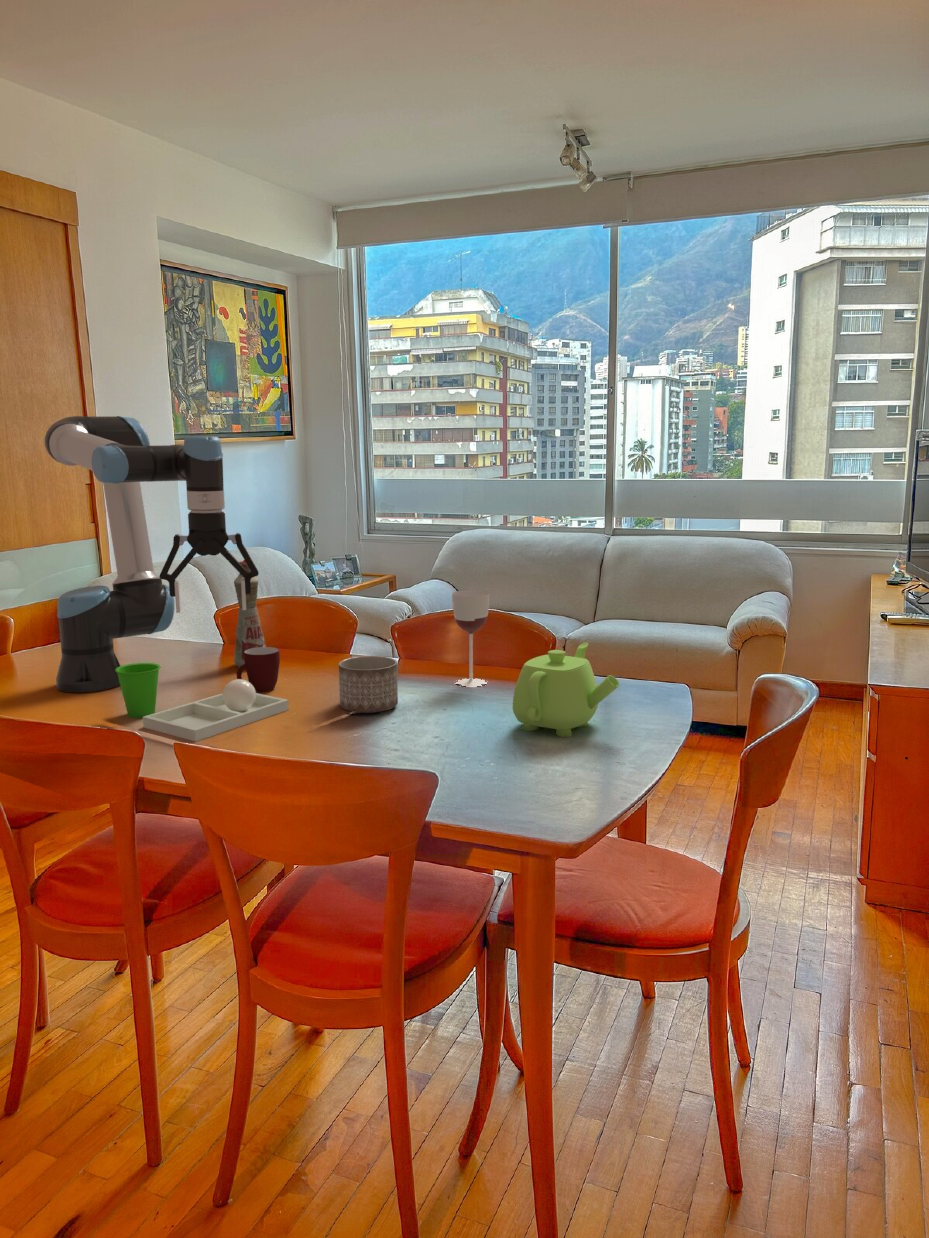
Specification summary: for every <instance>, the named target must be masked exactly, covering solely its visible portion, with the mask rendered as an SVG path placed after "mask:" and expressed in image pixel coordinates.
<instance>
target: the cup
mask: <svg viewBox="0 0 929 1238" xmlns="http://www.w3.org/2000/svg"><path fill="white" fill-rule="evenodd" d="M160 669H161V665H160V664H159V663H155V662H135V663H127V664H124V665H123V664H122V665H120V667H118V668H116V670H115V672H117V674H118V678H119V682H120V685H119V686H120V689H121V693H122V697H123V701H124V705H125V708H126V711H127V712H126V713H127V717H128V718H131V719H143V717H144V716H147V715H150V714H154V713H156V706H157V705H156V704H157V693H158V692H157V691H158V684H159V683H158V682H159V671H160Z"/></svg>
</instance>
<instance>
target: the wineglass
mask: <svg viewBox="0 0 929 1238" xmlns="http://www.w3.org/2000/svg"><path fill="white" fill-rule="evenodd" d="M451 595H452V596H451V598H452V599H451V601H452V611H453V616H454V620H455V623H456V624H457V626H458V627H459V628H460V629H461V630H463V631H465V632H466V633H468V635H469V637H468V641H469V642H468V643H469V644H468V645H469V646H468V651H469V652H468V653H469V658H468V659H469V661H468V662H469V663H468V664H469V666H468V667H469V670H468V671H469V673H468V674H469V679H467V678H461V679H462V680H460V679H457V680H458V682H456V683H454V682H453V684H454V685H455V684H461V685H462V686H466V687H465V688H478V687H477V686H481V687H483V686H482V685H481V684H487V682H488V681H487V682H485V680H486V679H482V678H475V679H473V678H474V673H473V672H474V652H473V651H474V648H473V647H474V643H473V642H474V633H475V632H476V631H478V630H480V629H481V628H482V627H483V626H484V625H485V624H486V623H487V619H488V615H489V609H490V592H489V591H487V590H479V589H475V590H474V589H469V590H468V589H467V590H457V591H454V592H452V594H451ZM481 679H482V680H481ZM487 685H488V684H487Z"/></svg>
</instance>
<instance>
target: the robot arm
mask: <svg viewBox="0 0 929 1238" xmlns="http://www.w3.org/2000/svg"><path fill="white" fill-rule="evenodd" d="M146 430H147V429H145V427H144V426H143V424H142V423H141V421H139V420H138V419H136V418H134V417H127V416H125V417H124V416H121V415H120V416H119V415H117V416H82V415H76V416H75V415H74V416H68V417H64V418H61V419H59V420H57V421H55V422H54V423H52V424H51V425H50V426H49V428H48V429H47V430H46V432H45V436H44V447H45V450H46V452H47V453H48V455H49V456H50V457H51V459H53V460H54V461H56V462H57V463H60V464H62V465H65V466H73V467H74V466H75V467H76V466H80V467H82V468H85V469H87V470H89V471H92V472H93V474H94V477H95V478H96V480H97V481H98V482H100V483H102V485H103V491H104V497H105V499H104V500H105V504H106V511H107V516H108V523H109V524H108V525H109V529H110V536H111V537H110V538H111V543H112V547H113V549H112V550H113V555H114V561H115V568H116V573H117V575H116V578H115V579H114V581H113V582H112V583H111V584H112V590H110V588H109V587H108V586H106V585H93V586H84V587H79V588H76V589H73V590H69V591H67V592H64V593H63V594H61V595H59V597H58V599H57V613H56V617H57V619H58V628H59V629H58V631H59V640H60V648H61V658H60V662H59V666H58V671H57V675H56V677H55V684H56V685H55V686H56V689H57V690H59V691H60V692H65V693H76V694H77V693H91V692H99V691H106V690H109V689H113V688H117V687H119V686H120V682H119V678H118V674H117V672H115V670H116V668H118V667H120V666H121V664H120V662H119V659H118V658H117V655H116V653H115V648H114V640H115V639H122V638H129V637H136V636H143V635H153V634H155V633H159V632H164V631H166V630H167V629H168V628H169V627H170V626H171V624H172V621H173V620H174V616H175V615H174V614H175V611H176V614H177V613H178V614H179V613H180V614H181V612H182V602H181V590H180V589H181V587H180V585H181V584H180V580H179V579H178V580H177V578H178V576H180V574H181V573H182V572H183V570H184V569H185V568H186V567H187V565H189V563H190V562H191V561H192V559H193V558H194V557H195V556H196V555H198V556H201V557H203V556H218V555H219V554H220V555H221V556H223V557H224V559H225V560H227V561H228V562H229V564H231V566H232V567H233V568H234V569H235V570H236V571H237V572H238V573H240V574H241V575H242V576H243V577H244V578H241V589H242V610H246V594H250V593H251V583H250V580H251V578H253V577H258V576H259V570H258V568H257V566H256V564H255V563H254V561H253V559H252V557H251V555H250V554H249V552H248V551H247V548H246V547H245V545H244V544H243V539H242V535H241V534H242V533H240V532H236V533H235V534H234V533H233V534H228V533H227V527H226V526H227V525H226V513H225V512H224V511H223V510H224V509H225V508H226V507H225V503H226V502H225V490H224V461H223V459H224V458H223V457H224V454H223V452H222V450H223V449H222V441H221V439H220V438H219V437H217V436H205V435H204V436H203V435H202V436H199V435H197V436H194V435H193V436H186V437H185V438H184V440H183V444H170V445H164V444H163V445H151V444H150V438H149V435H148V432H147V431H146ZM142 482H143V483H145V482H148V483H149V482H153V483H154V482H185V483H186V484H185V486H186V487H185V488H186V501H187V502H186V505H187V509H188V510H189V511H190V512H188V514H187V520H188V535H181V534H179V533H175V535H174V536H173V540H172V541H173V543H172V547H171V549H170V552H169V554H168V556H167V558H166V561H165V563H164V564H163V567H162V569H161V572H160V573H159V575H158V574H157V573H156V572H155V570H154V564H153V557H152V556H153V555H152V550H151V544H150V538H149V537H150V536H149V531H148V525H147V519H146V514H145V513H146V512H145V505H144V500H143V499H144V498H143V494H142V487H141V486H142V485H141V483H142ZM229 541H231V543H232V544H233V545H236V547H237V549H238V551H239V553H240V555H241V556H242V558H243V560H245V561H246V563H247V565H248V567H249V568H250V570H251V571H250V572H248V571H247V570H246V569H245V568H244V567H243V566H242V565H241V564H240V563H239V562H240V561H238V560H237V559H236V558H235V556H234V555H233V554H231V552H230V551H229V550H228V549H227V547H226V545H227V543H228V542H229ZM185 542H187V543H188V544H189V546H190V547H191V549H190V551H189V552H188V553H187V554H186V556H184V558H183V560H182V561H180V563H179V564H178V565H177V566H176V567H175V569H174V570H173V571H172V572H171V573H168V572H169V571H170V568H171V567H172V565H173V562H174V560H175V558H176V555H177V554H178V551H179V549H180V546H183V545H184V543H185ZM163 580H164V581H167V582H168V585H166V584H163Z"/></svg>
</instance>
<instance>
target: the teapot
mask: <svg viewBox="0 0 929 1238" xmlns="http://www.w3.org/2000/svg"><path fill="white" fill-rule="evenodd" d="M588 647H589V643H588V642H582V643H581V644H579V646H578V647H577V649H576V651H575V653H574V656H570V655H566V653H567V652H566V651H564V650H561V649H553V650H552V649H551V650H549V651H547V654H544V655H539V656H536V657H534V658H531V659H529V660H527V661H526V662H525V663H524V664H523V666H522V668H521V671H520V673H519V676H518V679H517V681H516V684H515V688H514V692H513V696H512V697H513V699H512V711H513V714H514V716H515V719H516V720H517V721H518V722H519V723H522V724H524V725H523V726H522V728H521V729H522V730H524V731H529V732H530V731H531V732H532V731H533V732H534V731H536V730H537V731H538V729H539V727H541V728H544V729H552V730H553V729H554V730H556V732H555V733H556V736H557V737H560V738H569V737H570V738H571V737H572V736H573V732H572V729H574V728H578V727H580V728H582V727H583V728H585V727H588V726H589V723H588V722H589V721H590V720H591V719H593V716H595V713H596V711H598V708H599V703H601V702H602V701H603V700H604V699H605V698H607V697H608V696H609V695H610V694H611V693H613V692H614V691H615V690H617V689H618V688H619V687H620V682H619V680H618V679H617V678H616V677H615V676H613V675H610V674H609V675H608V676H606V677H605V678H604V679H603V680H602V681H601V682H599V684H598V685H597V681H596V677H595V674H594V672H593V668H592V665H591V662H590V661H589V660H588V659H587V658H586V652H587V649H588Z"/></svg>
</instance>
